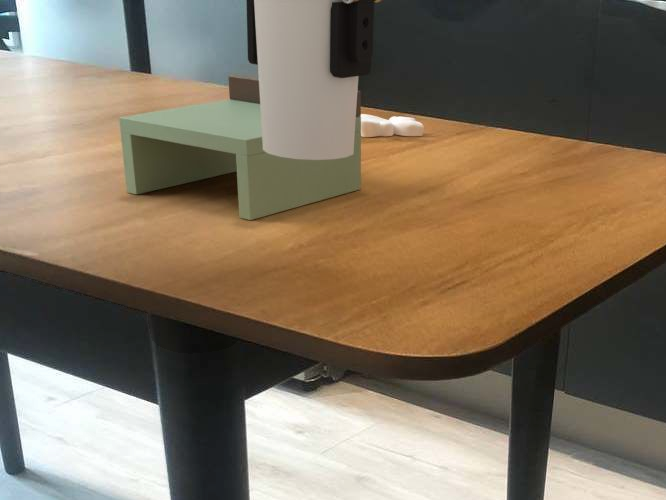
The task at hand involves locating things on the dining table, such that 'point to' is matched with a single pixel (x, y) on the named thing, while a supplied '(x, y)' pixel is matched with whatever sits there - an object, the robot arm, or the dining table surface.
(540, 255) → the dining table surface
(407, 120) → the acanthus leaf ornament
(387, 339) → the dining table surface
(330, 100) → the white cup
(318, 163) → the desk
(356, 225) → the dining table surface
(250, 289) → the dining table surface
